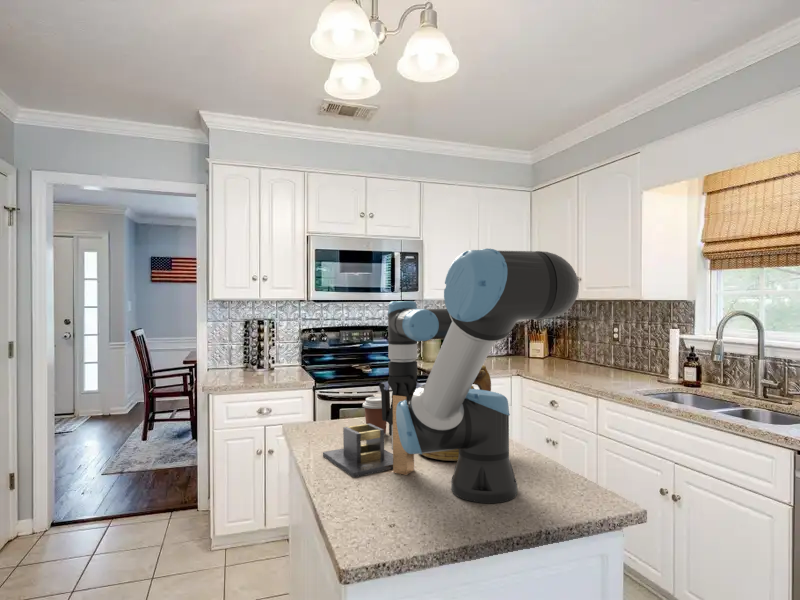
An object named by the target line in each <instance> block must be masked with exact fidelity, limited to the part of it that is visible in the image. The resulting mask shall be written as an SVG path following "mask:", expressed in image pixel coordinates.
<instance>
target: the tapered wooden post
mask: <svg viewBox="0 0 800 600" xmlns="http://www.w3.org/2000/svg"><path fill="white" fill-rule="evenodd" d="M410 396H412V395H410ZM410 396H409V397H410ZM404 400H406V401H408V400H407V396H404V395H393V450H392V454H393V469H392V472H393V473H395V474H399V475H405V476H408V475H409V474H410V473H412V472H413V471H415V454H409V453H407V452H406V451H405V450H404V449H403V447H402V444H401V442H400V438H399V434H398V429H397V421H396V408H397V404H398V403H399V402H400V401H404Z"/></svg>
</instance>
